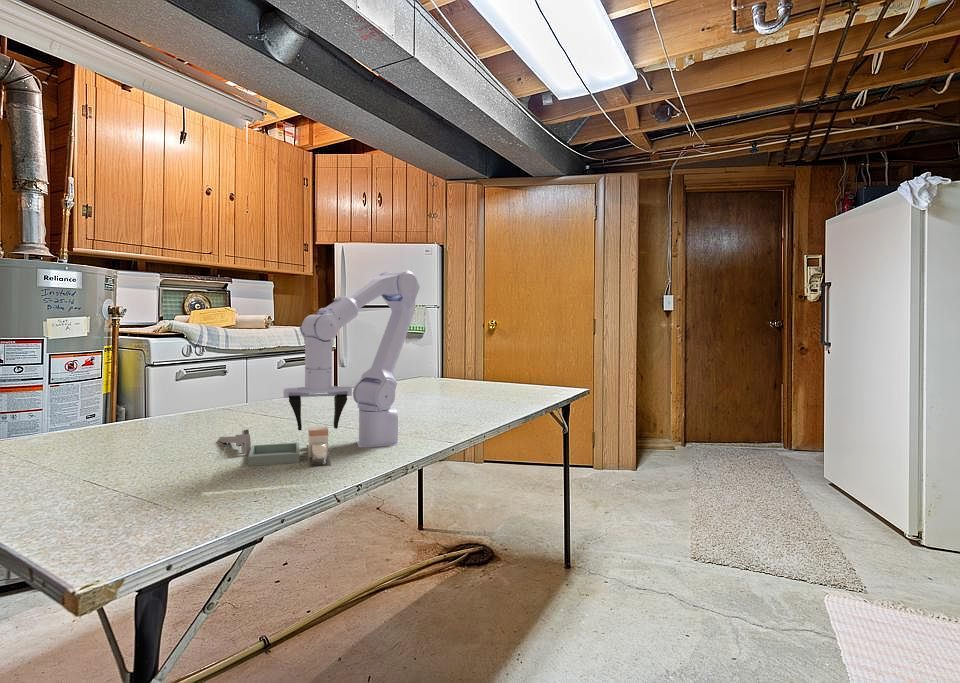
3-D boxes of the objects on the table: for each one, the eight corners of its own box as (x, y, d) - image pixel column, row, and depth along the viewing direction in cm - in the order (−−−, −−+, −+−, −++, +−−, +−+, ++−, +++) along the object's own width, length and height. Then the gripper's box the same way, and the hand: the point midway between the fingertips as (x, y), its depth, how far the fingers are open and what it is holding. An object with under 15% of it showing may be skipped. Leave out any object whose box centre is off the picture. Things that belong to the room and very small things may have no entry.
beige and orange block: (327, 451, 119) (327, 425, 119) (328, 456, 115) (328, 429, 115) (308, 452, 117) (308, 426, 117) (308, 457, 114) (308, 430, 113)
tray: (299, 452, 120) (299, 442, 119) (299, 464, 110) (299, 453, 110) (251, 455, 116) (251, 445, 116) (248, 467, 107) (248, 456, 107)
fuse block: (325, 445, 126) (325, 427, 126) (331, 467, 108) (331, 446, 108) (306, 447, 124) (306, 428, 124) (308, 469, 107) (309, 447, 106)
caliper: (251, 458, 115) (251, 430, 115) (245, 459, 114) (246, 430, 114) (222, 440, 130) (222, 416, 130) (217, 441, 129) (217, 416, 129)
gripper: (349, 366, 122) (349, 423, 122) (283, 366, 117) (283, 426, 117) (353, 369, 115) (352, 429, 116) (283, 369, 110) (283, 433, 111)
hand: (317, 428), depth 116 cm, fingers open, 7 cm apart
